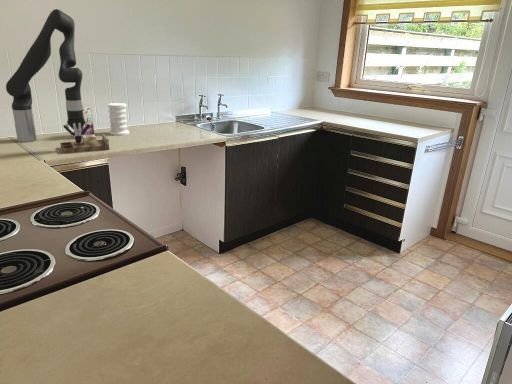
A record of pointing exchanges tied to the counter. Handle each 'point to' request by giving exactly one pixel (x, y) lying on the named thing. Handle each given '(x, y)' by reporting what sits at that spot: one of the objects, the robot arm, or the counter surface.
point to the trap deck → (85, 146)
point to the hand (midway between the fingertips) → (78, 142)
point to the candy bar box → (88, 121)
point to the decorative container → (118, 119)
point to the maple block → (89, 139)
